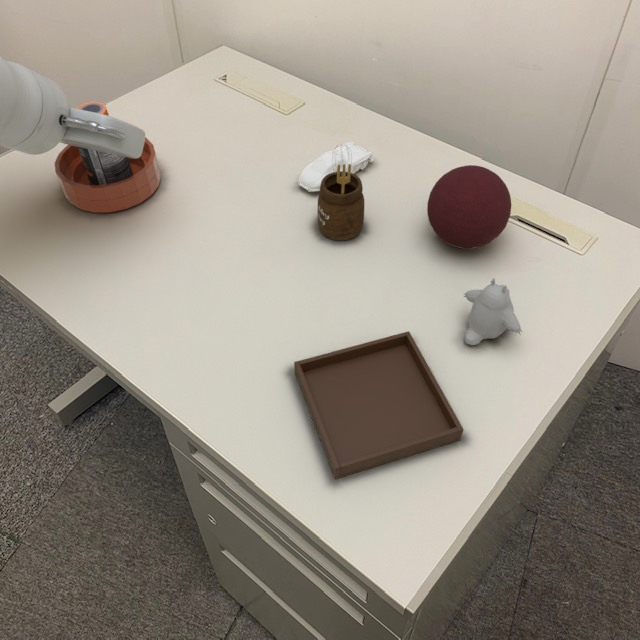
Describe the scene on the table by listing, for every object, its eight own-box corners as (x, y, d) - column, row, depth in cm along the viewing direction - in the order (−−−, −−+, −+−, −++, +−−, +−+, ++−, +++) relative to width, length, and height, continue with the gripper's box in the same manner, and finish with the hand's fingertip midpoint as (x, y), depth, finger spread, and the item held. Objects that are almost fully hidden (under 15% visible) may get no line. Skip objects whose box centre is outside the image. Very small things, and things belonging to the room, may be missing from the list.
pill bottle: (91, 172, 91) (67, 99, 83) (133, 166, 92) (114, 93, 84) (90, 198, 88) (64, 124, 79) (134, 192, 88) (114, 118, 80)
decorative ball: (452, 203, 87) (464, 138, 79) (517, 236, 82) (536, 171, 75) (407, 239, 82) (414, 175, 75) (472, 277, 78) (488, 212, 70)
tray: (335, 479, 60) (335, 469, 59) (294, 373, 68) (293, 361, 67) (460, 440, 63) (463, 429, 61) (407, 342, 71) (409, 330, 70)
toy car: (375, 163, 93) (376, 143, 90) (315, 201, 87) (315, 180, 85) (350, 150, 95) (351, 129, 93) (291, 185, 90) (290, 164, 87)
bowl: (68, 224, 85) (57, 196, 81) (62, 167, 93) (52, 140, 90) (168, 203, 88) (162, 175, 84) (153, 150, 96) (147, 123, 92)
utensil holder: (360, 211, 86) (364, 132, 77) (365, 243, 82) (370, 163, 73) (316, 213, 86) (315, 134, 77) (319, 245, 82) (318, 165, 73)
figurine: (528, 340, 71) (546, 292, 65) (494, 368, 69) (509, 320, 63) (472, 300, 75) (485, 251, 69) (438, 325, 73) (448, 276, 67)
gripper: (113, 99, 69) (172, 130, 82) (-44, 69, 74) (37, 103, 87) (101, 157, 70) (162, 179, 83) (-53, 124, 74) (28, 149, 88)
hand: (97, 140), depth 85 cm, fingers open, 8 cm apart
